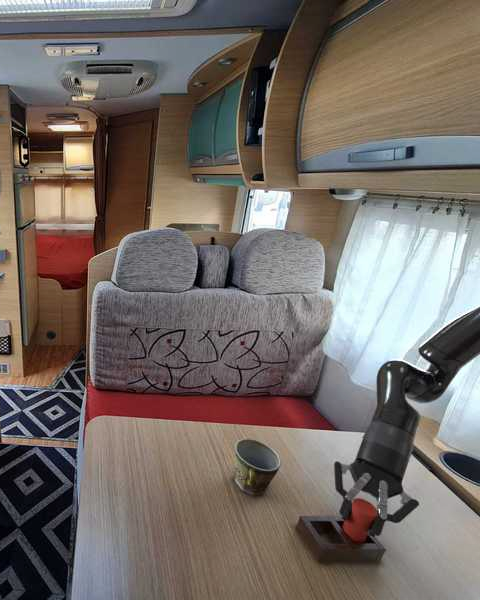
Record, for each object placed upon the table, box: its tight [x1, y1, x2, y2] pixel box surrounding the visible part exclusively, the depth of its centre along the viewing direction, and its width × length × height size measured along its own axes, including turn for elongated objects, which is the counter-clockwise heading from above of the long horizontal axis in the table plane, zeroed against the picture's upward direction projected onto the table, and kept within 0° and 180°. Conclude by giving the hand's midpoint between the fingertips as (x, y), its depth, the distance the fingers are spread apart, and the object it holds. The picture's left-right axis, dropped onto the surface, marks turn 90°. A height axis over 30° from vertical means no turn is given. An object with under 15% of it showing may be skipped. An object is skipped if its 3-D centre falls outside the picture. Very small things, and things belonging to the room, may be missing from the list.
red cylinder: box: [342, 497, 378, 544], centre depth 67 cm, size 4×4×9 cm
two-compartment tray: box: [295, 515, 387, 563], centre depth 69 cm, size 13×7×4 cm, turn 91°
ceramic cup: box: [234, 438, 282, 496], centre depth 80 cm, size 13×10×10 cm
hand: (357, 527), depth 66 cm, fingers closed on red cylinder, 3 cm apart
